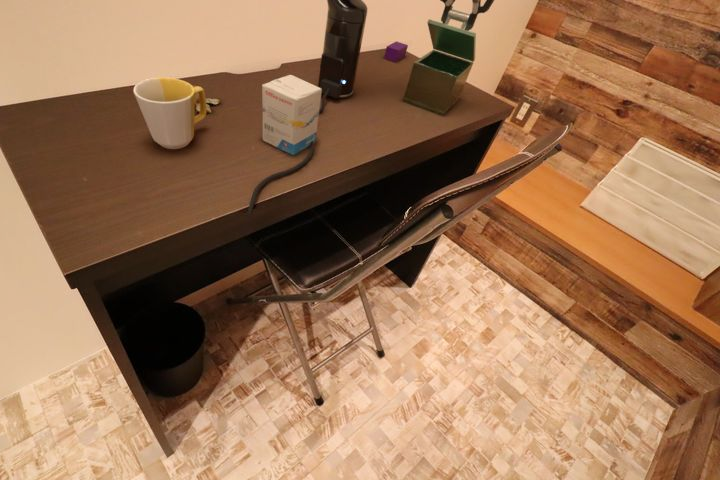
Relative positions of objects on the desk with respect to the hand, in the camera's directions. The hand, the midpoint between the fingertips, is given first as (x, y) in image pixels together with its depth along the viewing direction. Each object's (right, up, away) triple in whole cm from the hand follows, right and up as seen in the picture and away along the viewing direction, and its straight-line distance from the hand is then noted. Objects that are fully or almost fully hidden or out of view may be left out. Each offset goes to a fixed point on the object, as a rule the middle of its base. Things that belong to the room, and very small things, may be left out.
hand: (455, 27), depth 88 cm
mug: (-61, -33, -15) cm, 71 cm away
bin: (-1, -11, +14) cm, 18 cm away
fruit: (-61, -21, -4) cm, 65 cm away
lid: (+1, -1, +4) cm, 4 cm away
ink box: (-40, -31, -10) cm, 51 cm away
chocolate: (-8, +13, +35) cm, 38 cm away
